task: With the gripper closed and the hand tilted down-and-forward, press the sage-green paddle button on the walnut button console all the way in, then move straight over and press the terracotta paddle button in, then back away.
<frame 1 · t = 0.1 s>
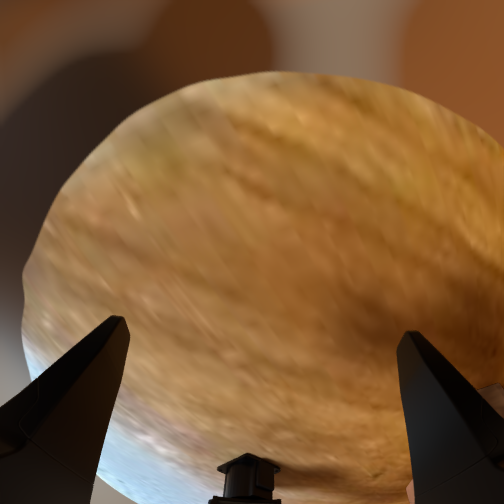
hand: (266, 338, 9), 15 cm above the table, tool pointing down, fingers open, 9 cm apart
console: (457, 435, 33), on the table
terracotta button: (451, 488, 29), point 7 cm above the table, slide at 0.0 cm
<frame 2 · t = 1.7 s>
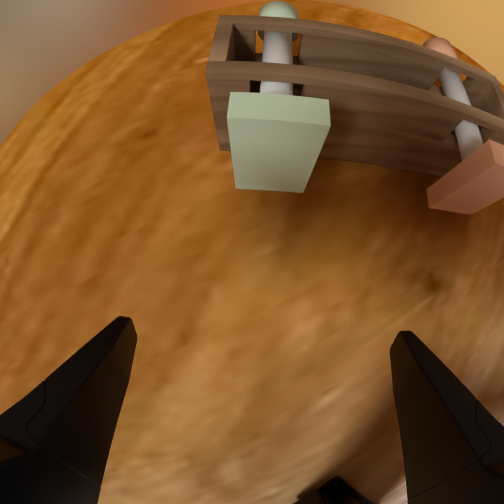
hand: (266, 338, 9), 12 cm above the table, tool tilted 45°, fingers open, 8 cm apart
console: (352, 131, 24), on the table
terracotta button: (460, 108, 17), point 7 cm above the table, slide at 0.0 cm
sage button: (277, 70, 17), point 7 cm above the table, slide at 0.0 cm
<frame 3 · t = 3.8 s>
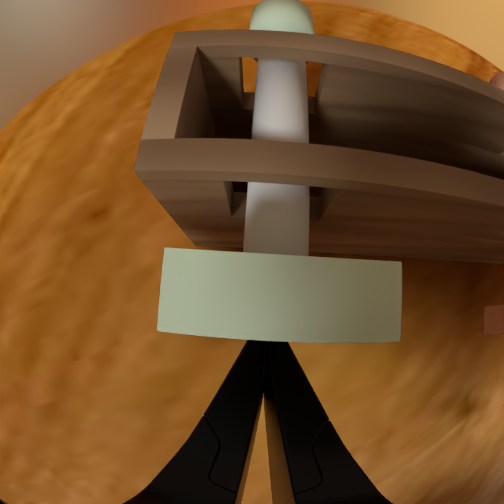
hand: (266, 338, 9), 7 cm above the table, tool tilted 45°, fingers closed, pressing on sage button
console: (387, 207, 17), on the table
sage button: (280, 125, 10), point 7 cm above the table, slide at 0.6 cm, touching gripper
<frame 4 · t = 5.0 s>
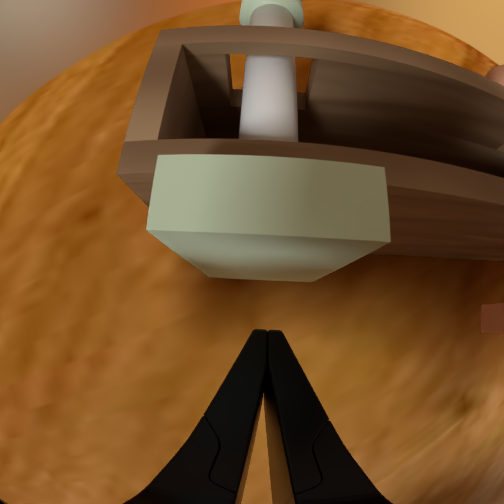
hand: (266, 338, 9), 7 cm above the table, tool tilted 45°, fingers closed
console: (382, 204, 17), on the table
sage button: (270, 82, 10), point 7 cm above the table, slide at 2.6 cm
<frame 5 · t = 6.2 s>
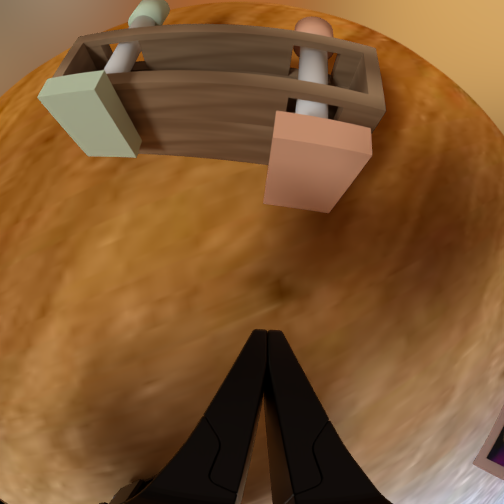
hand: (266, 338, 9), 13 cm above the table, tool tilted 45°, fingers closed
console: (215, 128, 25), on the table
terracotta button: (312, 89, 18), point 7 cm above the table, slide at 0.0 cm
sage button: (124, 56, 18), point 7 cm above the table, slide at 2.6 cm
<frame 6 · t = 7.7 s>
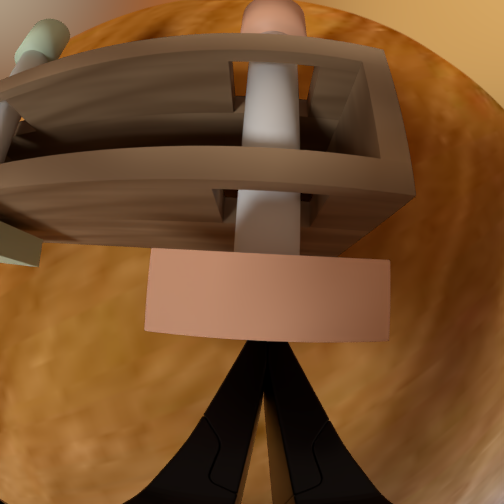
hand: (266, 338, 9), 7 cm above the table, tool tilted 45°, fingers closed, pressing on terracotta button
console: (145, 197, 17), on the table
terracotta button: (271, 124, 10), point 7 cm above the table, slide at 0.8 cm, touching gripper
sage button: (3, 120, 11), point 7 cm above the table, slide at 2.6 cm
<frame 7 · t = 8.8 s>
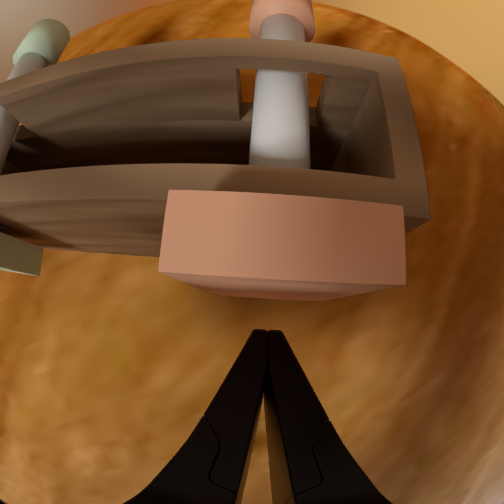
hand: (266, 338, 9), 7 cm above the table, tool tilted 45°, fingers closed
console: (148, 204, 17), on the table
terracotta button: (281, 98, 10), point 7 cm above the table, slide at 2.6 cm
sage button: (1, 126, 11), point 7 cm above the table, slide at 2.6 cm
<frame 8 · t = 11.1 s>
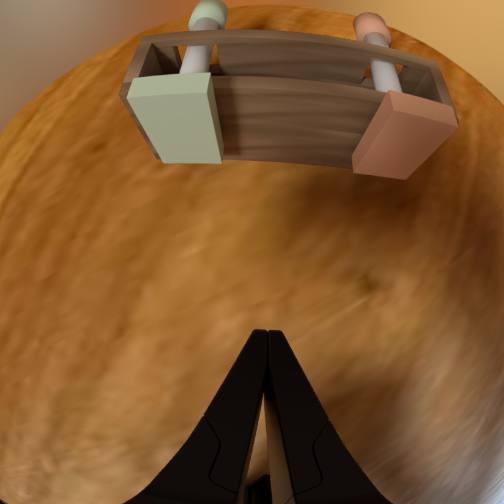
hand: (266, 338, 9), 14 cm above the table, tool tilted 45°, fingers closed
console: (286, 132, 25), on the table
terracotta button: (384, 75, 19), point 7 cm above the table, slide at 2.6 cm
sage button: (197, 59, 19), point 7 cm above the table, slide at 2.6 cm
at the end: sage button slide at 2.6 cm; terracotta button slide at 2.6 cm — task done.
